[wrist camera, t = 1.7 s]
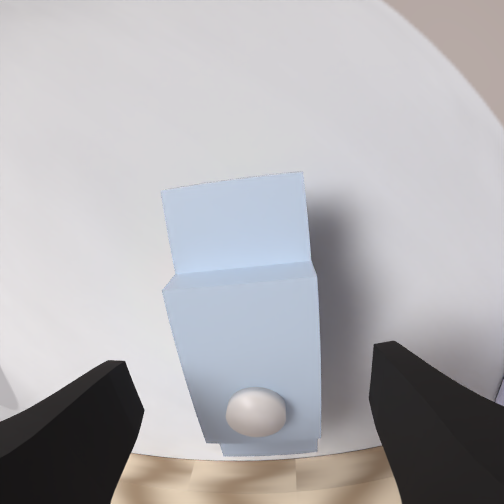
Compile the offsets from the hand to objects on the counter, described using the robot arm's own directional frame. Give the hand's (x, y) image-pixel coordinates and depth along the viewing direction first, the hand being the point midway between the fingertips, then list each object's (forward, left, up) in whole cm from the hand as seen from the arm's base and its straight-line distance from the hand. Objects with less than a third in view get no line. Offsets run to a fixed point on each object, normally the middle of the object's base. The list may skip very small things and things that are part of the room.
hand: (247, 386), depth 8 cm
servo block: (0, 0, -5) cm, 5 cm away
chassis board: (+2, +17, -5) cm, 18 cm away
